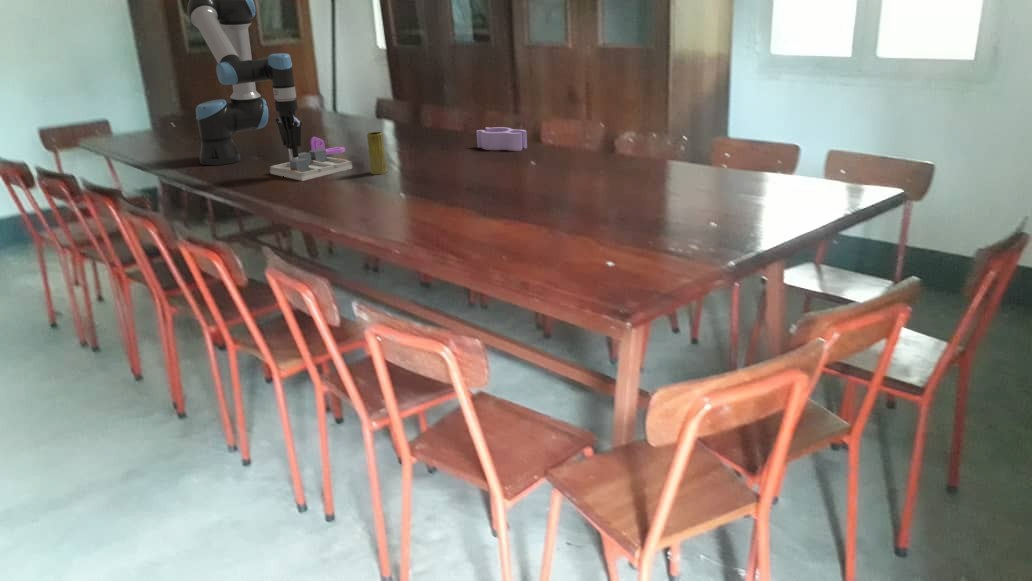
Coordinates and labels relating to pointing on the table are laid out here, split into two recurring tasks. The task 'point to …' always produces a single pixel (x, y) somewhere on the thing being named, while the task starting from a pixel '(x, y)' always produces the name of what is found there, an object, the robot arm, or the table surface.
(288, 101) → the robot arm
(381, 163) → the vase
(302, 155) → the slider
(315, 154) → the slider
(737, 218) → the table surface
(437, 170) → the table surface
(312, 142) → the bracket
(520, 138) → the clip
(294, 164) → the slider
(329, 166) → the switch board
